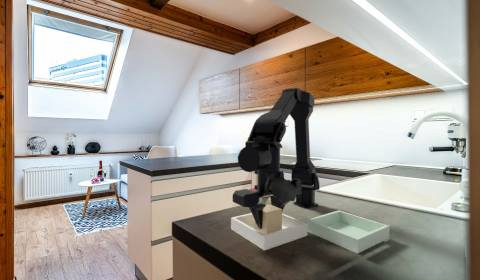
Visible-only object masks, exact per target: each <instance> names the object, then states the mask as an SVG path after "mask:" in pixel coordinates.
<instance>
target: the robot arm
mask: <svg viewBox="0 0 480 280" xmlns="http://www.w3.org/2000/svg"><path fill="white" fill-rule="evenodd" d="M314 107H315V97H314V95H312V93H311V92H308V91H305V90H301V88H298V87H292V88H285V89H283V90H282V92H281V95H280V96H279V98H278V99H277V101H276V102H275V103H274V105H273V107H272V108H271V109H270V110H269V111H268V112H265V113H263V114H261V115H260V116H259V117H258V118H256V119H255V121H254V124H253V125H252V128H251V131H250V133H249V136H248V138H247V141H245V147H242V148H241V150H240V151H239V153H238V155H237V163H238V166H239V167H240V169H241V170H242V171H244V172H247V173H253V172H254V174H255V175H257V179H256V180H257V182H256V183H257V184H254V187H253V188H254V189H255V190H257V192H254V191H251V190H249V189H248V188H244V189H237V190H234V192H233V193H232V203H235V204H237V205H239V206H241V207H243V208H248V210H249V211H250V213H252V215H253V217H254V219H255V222H256V224H257V226H258V228H259V229H262V224H263V209H264V208H265V206H266V205H267V204H262V198H267V197H269V199H270V205H273V206H275V207H278V208H280V209H282V212H283V211H284V208H285V207H286V205H287V204H288V203H290V202H292V203H293V204H294V205H296V206H299V207H302V208H305V209H308V208H312V207H317V206H319V203H317V202H315V201H316V200H315V199H316V195H315V193H316V192H317V191H320V188H321V187H320V184H321V183H320V180H319V177H318V173H316V166H315V164H314V163H313V162H312V161H311V151H310V150H311V148H310V146H311V145H310V124H309V119H310V117H311V116H312V114H313V112H314ZM289 116H290V117H291V119H293V122H294V138H295V157H296V159H295V160H296V162H295V163H294V165H293V166H292V168H291V176H290V177H291V178H290V179H286V178H285V173H284V171H283V170H281V149H282V148H283V145H282V143H281V142H282V141H283V139H284V136H285V134H286V132H287V126H286V121H287V119H288V117H289ZM263 194H264V195H263ZM293 204H292V205H293Z"/></svg>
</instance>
